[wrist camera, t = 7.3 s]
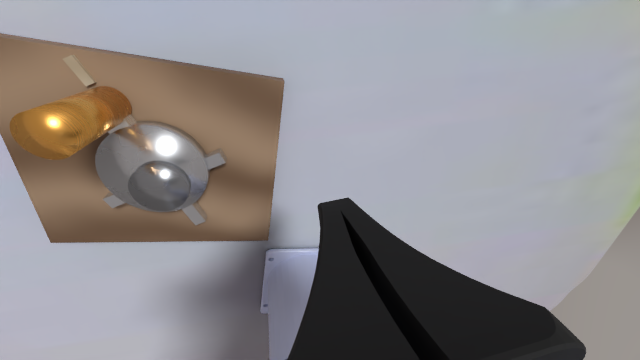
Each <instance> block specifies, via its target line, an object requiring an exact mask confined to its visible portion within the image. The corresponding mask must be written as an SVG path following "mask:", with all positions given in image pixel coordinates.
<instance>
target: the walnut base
mask: <svg viewBox="0 0 640 360" xmlns="http://www.w3.org/2000/svg"><path fill="white" fill-rule="evenodd" d="M99 86H108V87H112V88H115V89H117V90H118V91H120V92H121V93H123V94H124V95H125V96H126V97H127V99H128V100H129V102H130V104H131V108H132V112H131V115H132V116H133V117H134V119H135V120H136V121H158V122H163V123H167V124H170V125H173V126H175V127H177V128H179V129H181V130H183V131H185V132H186V133H188V134H189V135H191V136H192V137H193V138H194V139H195V140H196V141H197V142H198V143H199V144H200V145H201V147H202V148H203V149H204V151H205V153H206V154H208V153H210V152H213V151H215V150H218V149H220V148H221V150H222V151H223V153H224V154H225V156H226V158H227V160H226V163H224V164H222V165H219V166H217V167H214V168H212V169H210V176H209V180H208V183H207V186H206V188H205V191H204V192H203V194H202V196H201V197H200V198H199V199H198V200H197V201H196V202H197V203H198V204H199V206H200V207H201V208H202V209H203V211H204V212H205V213H206V214H207V218H206V221H205V222H203V223H200V224H198V225H195V224H194V223H193V222H192V221H191V220H190V218H189V217H188V216H187V215H186V214H185V213H184V211H183V210H182V209H181V210H177V211H171V212H153V211H147V210H143V209H139V208H136V207H134V206H131V205H129V204H127V203H124V204H122V205H119V206H117V207H114V208H111V207H110V206H109V205H108V204H107V203H106V202H105V201H104V200H103V198H104V197H105V196H106V195H107V194H108V193H110V191H109V190H108V189H107V188H106V187H105V185H104V184H103V183H102V181H101V179H100V177H99V176H98V173H97V170H96V165H95V156H96V151H97V149H98V147H99V145H100V144H101V142H102V141H103V140H104V139H105V138H106V137H107V136H108V135H110V134H109V133H108V132H107V133H105V134H104V135H102V136H101V137H99V138H98V139H96V140H94V141H93V142H91V143H90V144H88V145H87V146H85V147H84V148H82V149H81V150H79V151H77V152H76V153H74V154H73V155H71V156H70V157H68V158H65V159H61V160H50V159H45V158H41V157H38V156H36V155H33V154H31V153H30V152H28V151H26V150H25V149H24V148H22V147H21V146H20V145H19V144H18V143H17V142H16V141H15V139H14V138H13V136H12V134H11V132H10V121H11V119H12V118H13V117H14V116H15V115H16V114H18V113H20V112H23V111H26V110H29V109H32V108H35V107H38V106H41V105H44V104H47V103H50V102H53V101H56V100H59V99H62V98H65V97H68V96H71V95H74V94H77V93H80V92H83V91H86V90H89V89H92V88H95V87H99ZM283 90H284V80H283V78H276V77H270V76H264V75H258V74H251V73H245V72H239V71H233V70H226V69H220V68H214V67H208V66H201V65H195V64H189V63H183V62H176V61H170V60H164V59H157V58H151V57H145V56H139V55H132V54H126V53H120V52H114V51H107V50H101V49H95V48H89V47H82V46H76V45H70V44H64V43H57V42H51V41H45V40H39V39H32V38H26V37H20V36H14V35H7V34H1V33H0V133H1V136H2V138H3V140H4V142H5V144H6V147H7V149H8V151H9V153H10V155H11V157H12V160H13V162H14V164H15V166H16V168H17V170H18V173H19V175H20V177H21V179H22V181H23V183H24V186H25V188H26V190H27V192H28V194H29V197H30V199H31V201H32V203H33V205H34V207H35V210H36V212H37V214H38V216H39V218H40V220H41V223H42V225H43V227H44V229H45V231H46V233H47V236H48V238H49V240H50V242H51V243H63V242H162V241H260V240H268V237H269V227H270V217H271V208H272V198H273V188H274V178H275V168H276V158H277V149H278V139H279V129H280V119H281V109H282V100H283Z"/></svg>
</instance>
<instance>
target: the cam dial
mask: <svg viewBox="0 0 640 360" xmlns="http://www.w3.org/2000/svg"><path fill="white" fill-rule="evenodd" d="M131 112H132V108H131V104H130V102H129V100H128V99H127V97H126V96H125V95H124V94H123V93H121V92H120V91H118V90H117V89H115V88H112V87H108V86H99V87H95V88H92V89H89V90H86V91H83V92H80V93H77V94H74V95H71V96H68V97H65V98H62V99H59V100H56V101H53V102H50V103H47V104H44V105H41V106H38V107H35V108H32V109H29V110H26V111H23V112H20V113H18V114H16V115H15V116H14V117H13V118H12V119H11V121H10V132H11V134H12V136H13V138H14V139H15V141H16V142H17V143H18V144H19V145H20V146H21V147H22V148H24V149H25V150H26V151H28V152H30V153H31V154H33V155H36V156H38V157H41V158H45V159H50V160H61V159H65V158H68V157H70V156H71V155H73V154H74V153H76V152H77V151H79V150H81V149H82V148H84V147H85V146H87V145H88V144H90V143H91V142H93V141H94V140H96V139H98V138H99V137H101V136H102V135H104V134H105V133H107V132H108V133H109V134H110V135H108V136H107V137H106V138H105V139H104V140H103V141H102V142H101V144H100V145H99V147H98V149H97V151H96V156H95V165H96V170H97V173H98V176H99V177H100V179H101V181H102V183H103V184H104V185H105V187H106V188H107V189H108V190H109V191H110V193H108V194H107V195H106V196H105V197H104V198H103V200H104V201H105V202H106V203H107V204H108V205H109V206H110V207H111V208H114V207H117V206H119V205H122V204H124V203H127V204H129V205H131V206H134V207H136V208H139V209H143V210H147V211H153V212H171V211H177V210H181V209H182V210H183V211H184V213H185V214H186V215H187V216H188V217H189V218H190V220H191V221H192V222H193V223H194V224H195V225H198V224H200V223H203V222H205V221H206V218H207V214H206V213H205V212H204V211H203V209H202V208H201V207H200V206H199V204H198V203H197V202H196V201H197V200H198V199H199V198H200V197H201V196H202V194H203V192H204V191H205V188H206V186H207V183H208V180H209V176H210V169H212V168H214V167H217V166H219V165H222V164H224V163H226V160H227V158H226V156H225V154H224V153H223V151H222V150H221V148H220V149H218V150H215V151H213V152H210V153H208V154H206V153H205V151H204V149H203V148H202V147H201V145H200V144H199V143H198V142H197V141H196V140H195V139H194V138H193V137H192V136H191V135H189V134H188V133H186V132H185V131H183V130H181V129H179V128H177V127H175V126H173V125H170V124H167V123H163V122H158V121H136V120H135V119H134V117H133V116H132V115H131Z"/></svg>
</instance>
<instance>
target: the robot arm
mask: <svg viewBox="0 0 640 360" xmlns="http://www.w3.org/2000/svg"><path fill="white" fill-rule="evenodd" d="M318 212H319V220H320V244H319V248H303V249H270V250H268V251H267V252H266V257H265V267H264V277H263V287H262V297H261V307H260V312H261V313H262V314H268V323H269V360H583V358H584V357H585V354H586V348H585V346H584V344H583V343H582V342H581V341H580V340H579V339H577V337H576V336H574V334H573V333H572V332H571V331H570V330H568V329H567V328H566V327H565V326H564V325H563V324H562V323H561V322H560V321H559V320H558V319H557V318H556V317H555V316H554V315H553V314H551V312H549V311H548V310H547V309H546V308H545V307H542V306H540V305H537V304H534V303H532V302H529V301H526V300H524V299H521V298H518V297H516V296H513V295H510V294H507V293H505V292H502V291H500V290H497V289H495V288H492V287H490V286H488V285H485V284H483V283H481V282H478V281H476V280H474V279H471V278H469V277H467V276H465V275H463V274H461V273H458V272H456V271H454V270H452V269H451V268H449V267H447V266H445V265H443V264H441V263H439V262H437V261H435V260H433V259H431V258H429V257H428V256H426V255H424V254H422V253H421V252H419V251H417V250H416V249H414V248H412V247H411V246H409V245H408V244H406V243H405V242H403V241H402V240H400V239H399V238H398V237H396V236H395V235H393V234H392V233H390V232H389V231H388V230H386V229H385V228H384V227H383V226H381V225H380V224H379V223H377V222H376V221H375V220H374V219H372V218H371V217H370V216H369V215H368V214H367V213H365V212H364V211H363V210H362V209H361V208H360V207H359V206H357V205H356V204H355V203H354V202H353V201H352V200H351V199H349V198H344V199H339V200H334V201H329V202H324V203H320V204H319V205H318Z"/></svg>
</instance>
